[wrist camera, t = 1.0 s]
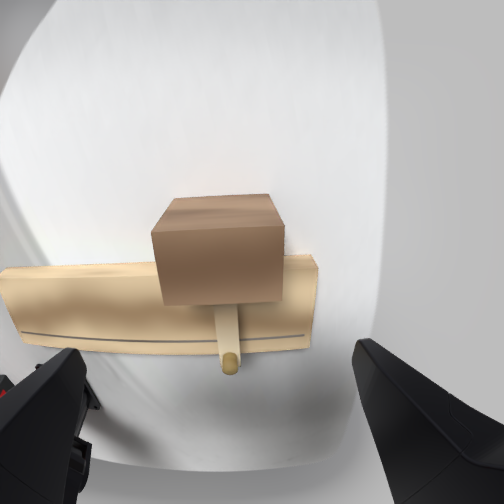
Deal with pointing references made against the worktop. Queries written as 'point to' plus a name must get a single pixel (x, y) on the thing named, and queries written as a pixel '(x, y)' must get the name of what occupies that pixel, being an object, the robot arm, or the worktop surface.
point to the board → (148, 310)
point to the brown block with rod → (220, 259)
